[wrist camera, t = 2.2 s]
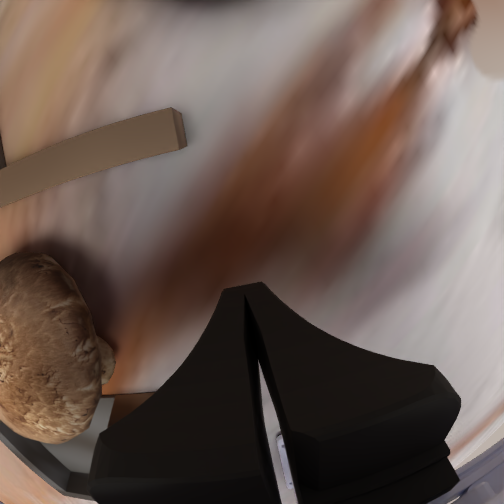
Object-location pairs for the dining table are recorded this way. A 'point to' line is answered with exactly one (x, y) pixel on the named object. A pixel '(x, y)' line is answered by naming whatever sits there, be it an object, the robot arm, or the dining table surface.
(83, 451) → the grey brown flat frame
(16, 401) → the mushroom
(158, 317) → the dining table surface
